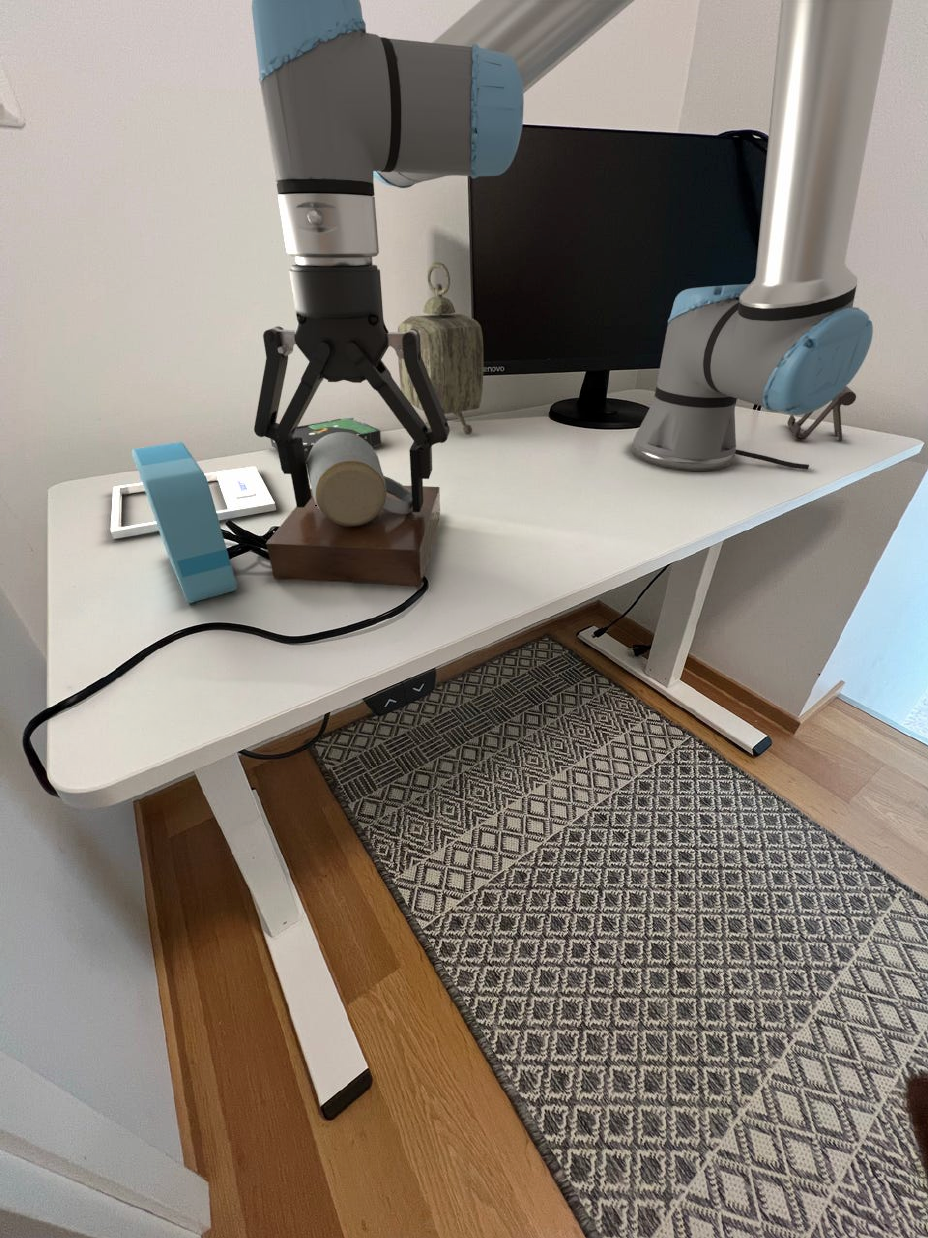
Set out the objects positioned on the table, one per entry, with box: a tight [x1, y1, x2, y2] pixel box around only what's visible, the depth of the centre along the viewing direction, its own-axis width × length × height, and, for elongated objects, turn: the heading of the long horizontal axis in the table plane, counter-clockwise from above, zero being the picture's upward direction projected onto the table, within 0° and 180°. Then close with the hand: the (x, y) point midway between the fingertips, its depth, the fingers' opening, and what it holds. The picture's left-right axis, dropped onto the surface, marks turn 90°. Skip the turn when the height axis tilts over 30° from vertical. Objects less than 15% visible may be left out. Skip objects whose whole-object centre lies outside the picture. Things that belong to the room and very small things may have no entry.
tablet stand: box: [786, 385, 857, 442], centre depth 93 cm, size 9×8×8 cm
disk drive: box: [270, 417, 382, 463], centre depth 88 cm, size 10×3×15 cm
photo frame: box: [110, 466, 277, 540], centre depth 70 cm, size 15×1×18 cm
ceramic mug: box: [306, 432, 412, 527], centre depth 56 cm, size 11×8×8 cm
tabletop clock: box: [397, 261, 485, 435], centre depth 90 cm, size 14×9×25 cm, turn 30°
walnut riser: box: [265, 485, 441, 587], centre depth 60 cm, size 15×16×4 cm
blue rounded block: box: [131, 441, 238, 604], centre depth 52 cm, size 12×4×12 cm, turn 33°
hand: (360, 504), depth 58 cm, fingers open, 12 cm apart
